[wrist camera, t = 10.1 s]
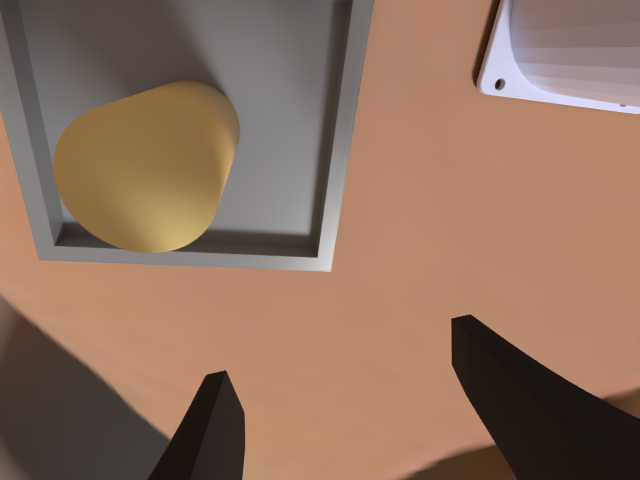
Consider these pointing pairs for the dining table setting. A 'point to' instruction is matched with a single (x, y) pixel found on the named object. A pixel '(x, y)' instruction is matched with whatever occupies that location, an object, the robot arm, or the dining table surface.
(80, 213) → the pin
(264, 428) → the dining table surface
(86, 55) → the tray
